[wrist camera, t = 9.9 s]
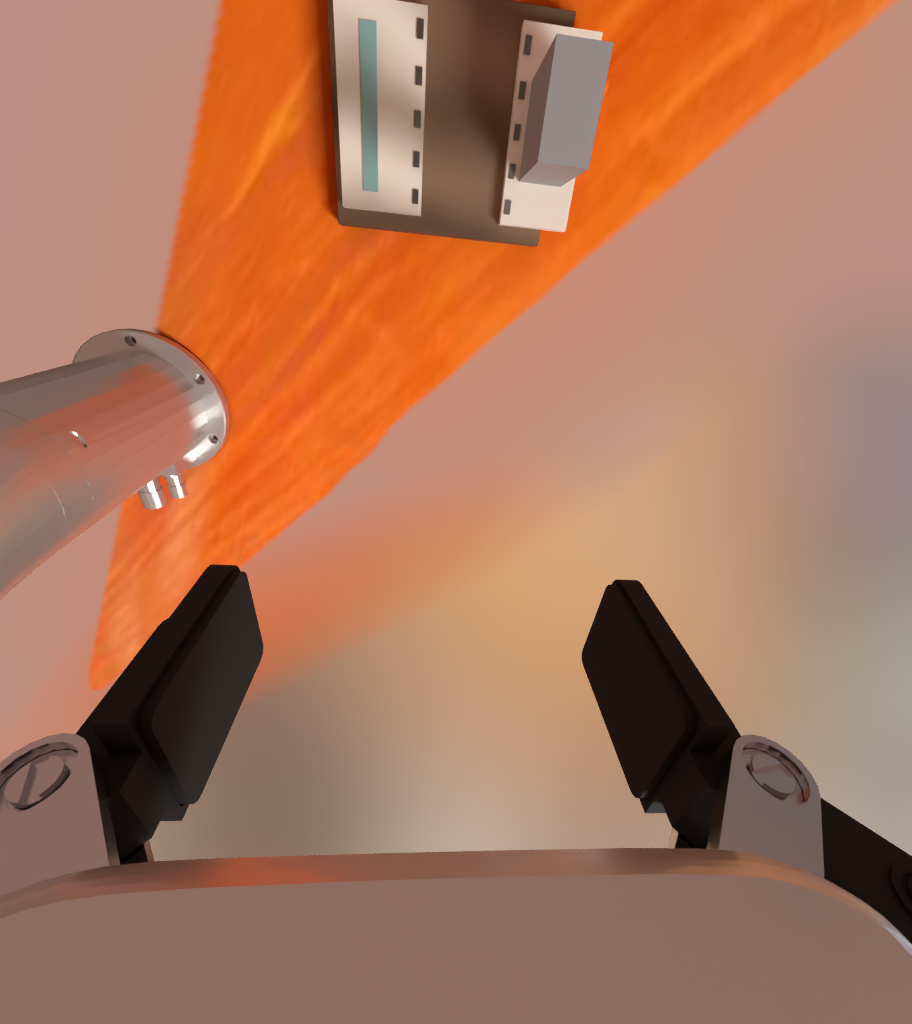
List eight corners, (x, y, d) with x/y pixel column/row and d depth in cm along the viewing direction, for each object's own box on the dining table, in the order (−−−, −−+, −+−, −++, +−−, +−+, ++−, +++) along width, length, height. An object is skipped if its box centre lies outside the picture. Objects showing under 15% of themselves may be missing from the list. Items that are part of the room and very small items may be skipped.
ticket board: (533, 246, 32) (540, 245, 30) (342, 225, 31) (336, 222, 29) (568, 24, 26) (580, 3, 24) (331, -15, 24) (321, -40, 22)
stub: (562, 232, 30) (592, 223, 24) (498, 225, 30) (514, 214, 24) (598, 38, 25) (647, -31, 19) (521, 26, 25) (548, -48, 19)
